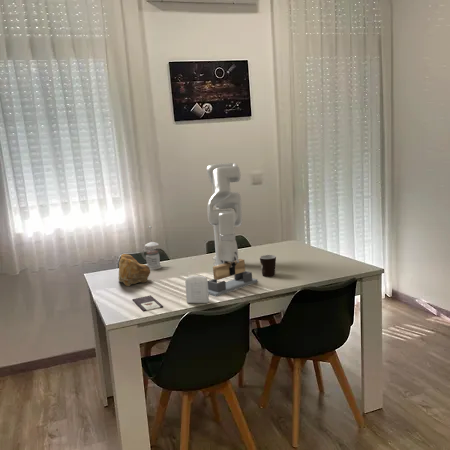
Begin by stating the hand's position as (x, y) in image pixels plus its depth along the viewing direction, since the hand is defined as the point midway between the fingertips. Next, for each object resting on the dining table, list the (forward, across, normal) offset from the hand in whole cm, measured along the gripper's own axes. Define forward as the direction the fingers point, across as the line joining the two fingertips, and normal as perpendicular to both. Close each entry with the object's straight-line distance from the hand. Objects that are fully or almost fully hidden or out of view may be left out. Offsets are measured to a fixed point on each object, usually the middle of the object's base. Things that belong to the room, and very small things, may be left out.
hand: (229, 273), depth 224 cm
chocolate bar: (+8, -13, -40) cm, 43 cm away
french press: (+7, -66, -2) cm, 66 cm away
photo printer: (+7, +4, -24) cm, 25 cm away
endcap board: (+7, 0, 0) cm, 7 cm away
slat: (+1, 0, 0) cm, 1 cm away
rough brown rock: (+7, -48, -25) cm, 55 cm away
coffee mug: (+7, +1, +27) cm, 28 cm away
